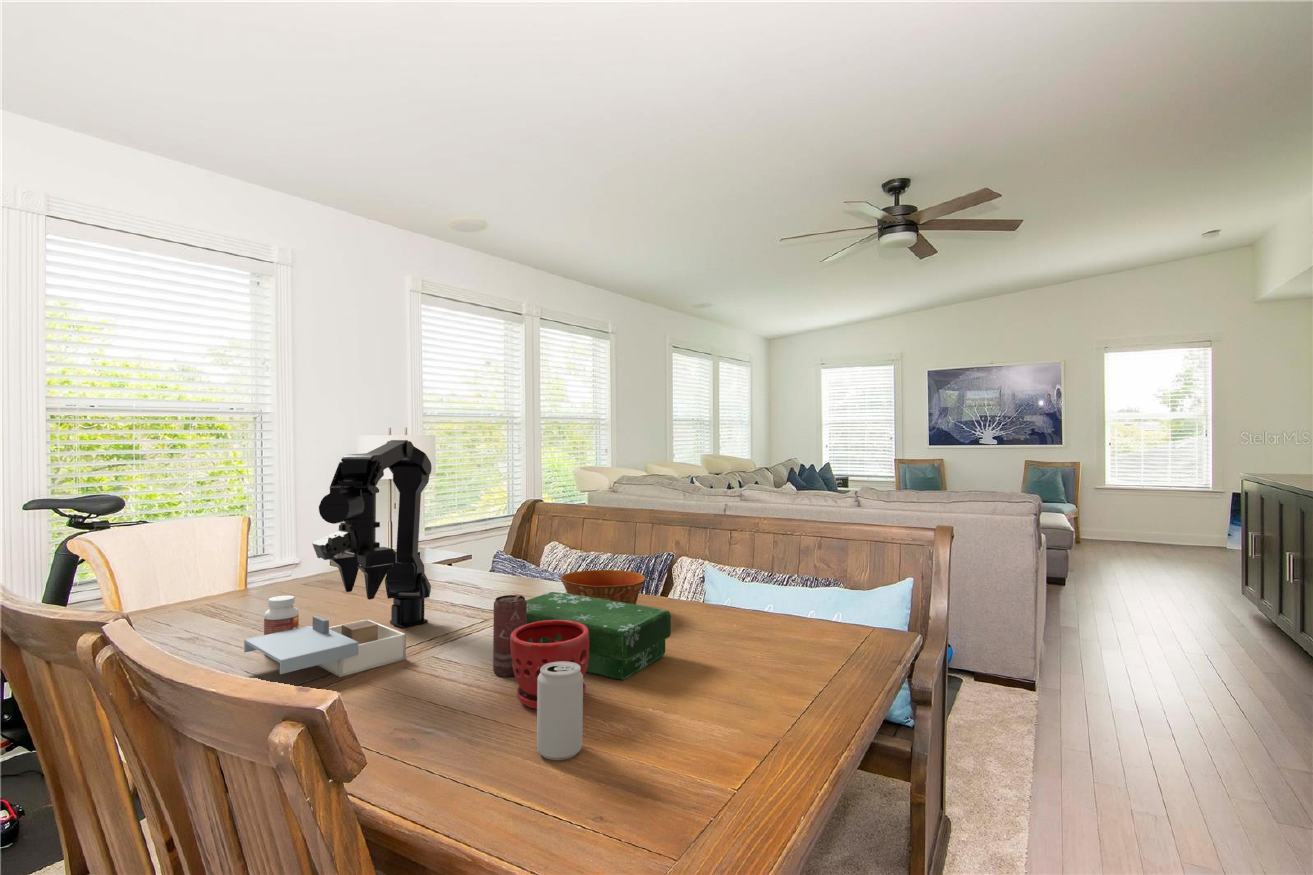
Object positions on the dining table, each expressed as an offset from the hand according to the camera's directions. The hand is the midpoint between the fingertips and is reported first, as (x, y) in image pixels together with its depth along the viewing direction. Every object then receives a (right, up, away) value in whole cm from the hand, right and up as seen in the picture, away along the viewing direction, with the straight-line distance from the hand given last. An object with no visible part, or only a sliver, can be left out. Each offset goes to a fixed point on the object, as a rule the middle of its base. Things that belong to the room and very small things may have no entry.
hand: (359, 595), depth 132 cm
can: (+32, -13, -7) cm, 35 cm away
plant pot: (+41, -13, -20) cm, 48 cm away
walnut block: (0, -12, 0) cm, 12 cm away
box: (+45, -13, +3) cm, 47 cm away
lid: (-7, -9, -8) cm, 14 cm away
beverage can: (+46, -13, -38) cm, 61 cm away
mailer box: (-1, -12, -1) cm, 12 cm away
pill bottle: (-17, -13, +3) cm, 22 cm away
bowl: (+46, -13, +32) cm, 58 cm away
